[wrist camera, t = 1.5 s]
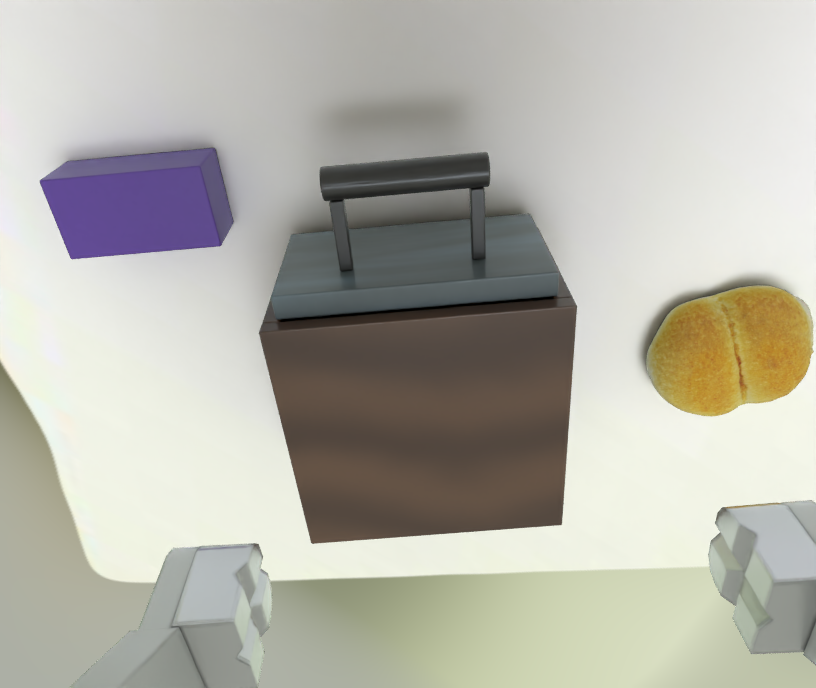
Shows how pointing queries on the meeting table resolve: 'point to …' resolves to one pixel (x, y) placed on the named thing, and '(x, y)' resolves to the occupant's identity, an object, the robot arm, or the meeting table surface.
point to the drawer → (412, 248)
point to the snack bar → (139, 203)
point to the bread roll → (731, 350)
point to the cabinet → (426, 416)
